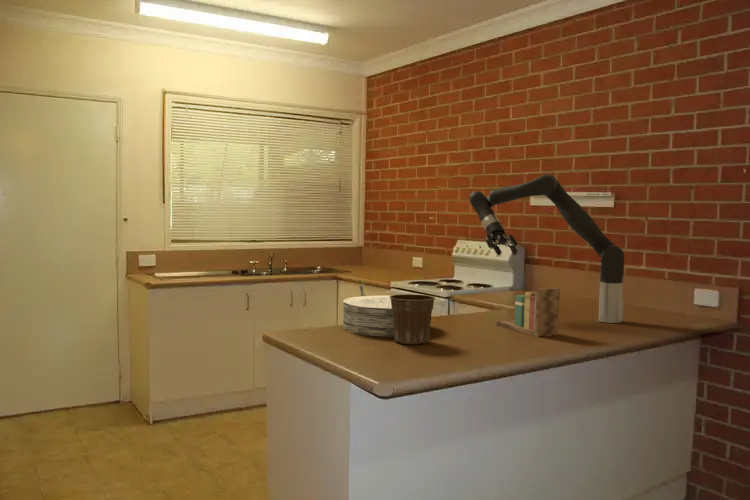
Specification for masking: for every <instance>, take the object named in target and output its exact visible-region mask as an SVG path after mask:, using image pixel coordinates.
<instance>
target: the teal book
mask: <svg viewBox="0 0 750 500" xmlns="http://www.w3.org/2000/svg"><path fill="white" fill-rule="evenodd" d="M514 301H515V303H514V304H515V305H514V306H515V307H514V320H515V325H517V326H520V327H524V307H525V294H517V295H515V300H514Z"/></svg>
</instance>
